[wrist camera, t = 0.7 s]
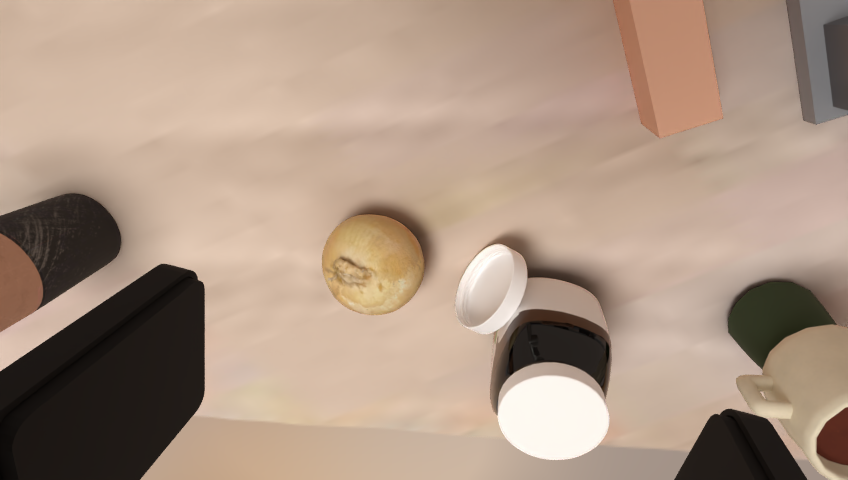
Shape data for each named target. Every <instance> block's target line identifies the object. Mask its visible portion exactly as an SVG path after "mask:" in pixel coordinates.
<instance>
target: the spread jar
mask: <svg viewBox="0 0 848 480" xmlns="http://www.w3.org/2000/svg"><path fill="white" fill-rule="evenodd" d="M455 312H456V317H457V319H458V321H459V323H460V324H461V325H462V326H464V327H466V328H468V329H470V330H473V331H475V332H477V333H479V334H490V333H493V332H494V338H493V349H492V363H491V380H490V399H491V405H492V408H493V411H494V412H495V414H496V415H497V416H498V423H499V426H500V429H501V431H502V433H503V434H504V436H505V437H506V439H507V440H508V441H509V442H510V443H511V444H513V445H514V446H515V447H516V448H518V449H519V450H521V451H523V452H525V453H527V454H529V455H531V456H535V457H538V458H542V459H548V460H563V459H571V458H574V457H578V456H581V455H583V454H585V453H587V452H589V451H591V450H592V449H593V448H595V447H596V446H597V445H598V444H599V443H600V442H601V441H602V440H603V438H604V437H605V435H606V433H607V430H608V427H609V412H608V408H607V404H606V400H605V399H606V395H607V391H608V386H609V380H610V372H611V360H612V357H611V342H610V336H609V332H608V328H607V324H606V321H605V318H604V314H603V311H602V308H601V306H600V304H599V302H598V300H597V299H596V297H595V296H594V295H593V294H591V293H590V292H589V291H587V290H586V289H584V288H582V287H580V286H577V285H575V284H572V283H569V282H566V281H562V280H558V279H553V278H544V277H533V278H527V266H526V262H525V260H524V258H523V257H522V255H521V254H520V253H518V252H516V251H514V250H512V249H511V248H509V247H507V246H505V245H503V244H493V245H491V246H488V247H486V248H485V249H483V250H482V251H481V252H480V253H479V254H478V255H476V257H475V258H474V259H473V260H472V261H471V263H470V264H469V266H468V267H467V269H466V270H465V272H464V274H463V276H462V278H461V281H460V283H459V286H458V289H457V293H456V299H455Z"/></svg>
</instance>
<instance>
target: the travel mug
mask: <svg viewBox="0 0 848 480" xmlns="http://www.w3.org/2000/svg"><path fill="white" fill-rule="evenodd" d="M120 244H121V239H120V233H119V230H118V227H117V225H116V223H115V221H114V219H113V218H112V216H111V215H110V214H109V213H108V211H107V210H106V209H105V208H104V207H102V206H101V205H100V204H99V203H97V202H96V201H94V200H93V199H91V198H89V197H86V196H83V195H79V194H65V195H61V196H57V197H54V198H51V199H48V200H45V201H42V202H39V203H37V204H34V205H31V206H28V207H25V208H22V209H19V210H16V211H13V212H10V213H7V214H5V215H2V216H0V332H1V331H3V330H5V329H6V328H8V327H10V326H11V325H13V324H15V323H16V322H18V321H20V320H21V319H23V318H25V317H27V316H28V315H30V314H32V313H33V312H35V311H36V310H38V309H39V308H41V307H43V306H44V305H46V304H47V303H49V302H50V301H52V300H53V299H55V298H56V297H58V296H59V295H61V294H62V293H64V292H66V291H67V290H69V289H70V288H72V287H73V286H75V285H76V284H78V283H79V282H81V281H82V280H84V279H85V278H87V277H89V276H90V275H92V274H93V273H95V272H96V271H98V270H99V269H101V268H102V267H104V266H105V265H107V264H108V263H109V262H111V261H112V260H113V259H114V258H115V257H116V256H117V254H118V252H119V249H120Z"/></svg>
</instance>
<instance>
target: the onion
mask: <svg viewBox="0 0 848 480" xmlns="http://www.w3.org/2000/svg"><path fill="white" fill-rule="evenodd" d="M322 268H323V274H324V277H325V280H326V283H327V285H328V287H329V289H330V291H331V292H332V294H333V296H334V297H335V298H336V299H337V300H338V301H339V302H340V303H341V304H342V305H344V306H345V307H347V308H349V309H350V310H352V311H355V312H358V313H361V314H366V315H382V314H387V313H391V312H393V311H395V310H397V309H399V308H401V307H402V306H404V305H405V304H406V303H407V302H409V301H410V300H411V298H412V297H413V296H414V295H415V293H416V292H417V290H418V288H419V286H420V284H421V282H422V279H423V275H424V258H423V254H422V249H421V245H420V244H419V242H418V241H417V239H416V237H415V236H414V235H413V234H412V232H411V231H410V230H409V229H407V228H406V227H405V226H404V225H403V224H401V223H400V222H398V221H396V220H394V219H392V218H389V217H386V216H381V215H372V214H367V215H358V216H354V217H351V218H349V219H347V220H345V221H344V222H342V223H341V224H340V225H339V226H337V227H336V228H335V230H334V231H333V232H332V233H331V235H330V236H329V238H328V240H327V242H326V244H325V247H324V250H323V255H322Z"/></svg>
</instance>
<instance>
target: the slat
mask: <svg viewBox="0 0 848 480" xmlns="http://www.w3.org/2000/svg"><path fill="white" fill-rule="evenodd" d="M613 3H614V7H615V11H616V16H617V20H618V24H619V29H620V33H621V37H622V42H623V46H624V50H625V55H626V59H627V63H628V68H629V72H630V76H631V81H632V85H633V89H634V94H635V98H636V102H637V107H638V111H639V115H640V120H641V124H643V125H644V126H645V127H646V128H648V129H649V130H650V131H651V132H653V133H654V134H655V135H656V136H658V137H659V138H663V137H666V136H669V135H672V134H675V133H678V132H682V131H685V130H688V129H691V128H694V127H697V126H701V125H704V124H707V123H710V122H713V121H716V120H720V119H723V114H722V108H721V102H720V97H719V91H718V85H717V80H716V74H715V68H714V62H713V57H712V51H711V45H710V39H709V34H708V28H707V22H706V17H705V11H704V5H703V0H613Z"/></svg>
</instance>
